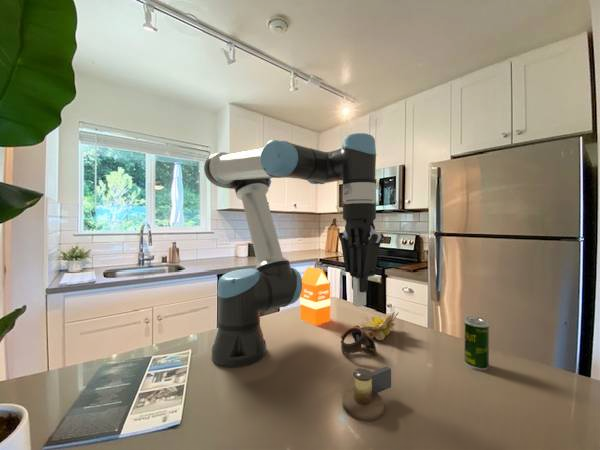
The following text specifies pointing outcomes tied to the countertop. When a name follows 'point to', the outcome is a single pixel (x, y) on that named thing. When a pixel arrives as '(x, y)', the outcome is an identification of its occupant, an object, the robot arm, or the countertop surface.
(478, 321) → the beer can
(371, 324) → the decorative flower
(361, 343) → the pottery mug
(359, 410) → the dial base
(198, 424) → the countertop surface
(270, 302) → the robot arm
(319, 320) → the orange juice
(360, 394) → the knob
